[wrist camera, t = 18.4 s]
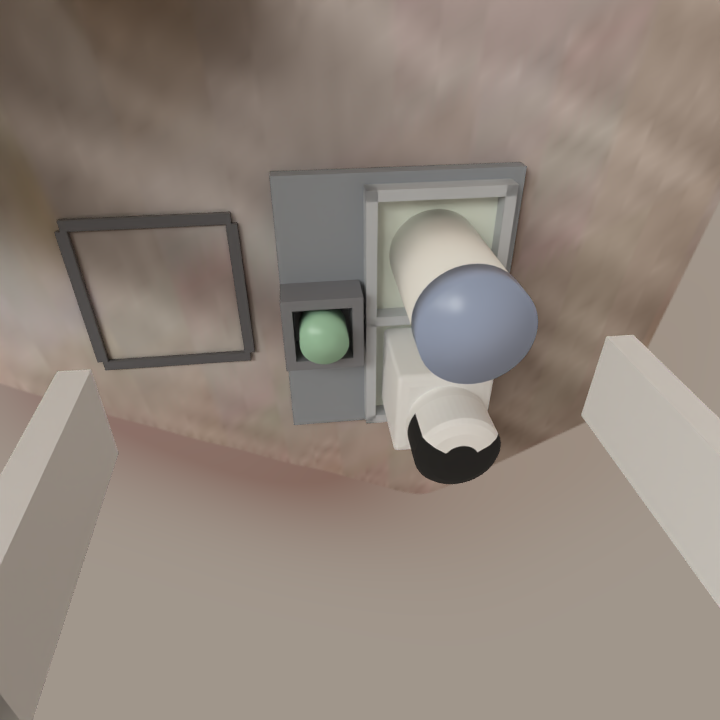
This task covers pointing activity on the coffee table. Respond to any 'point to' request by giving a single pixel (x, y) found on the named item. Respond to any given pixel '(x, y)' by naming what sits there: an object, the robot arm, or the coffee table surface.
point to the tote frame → (155, 222)
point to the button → (323, 335)
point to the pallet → (368, 263)
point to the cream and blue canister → (460, 299)
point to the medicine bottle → (436, 415)
